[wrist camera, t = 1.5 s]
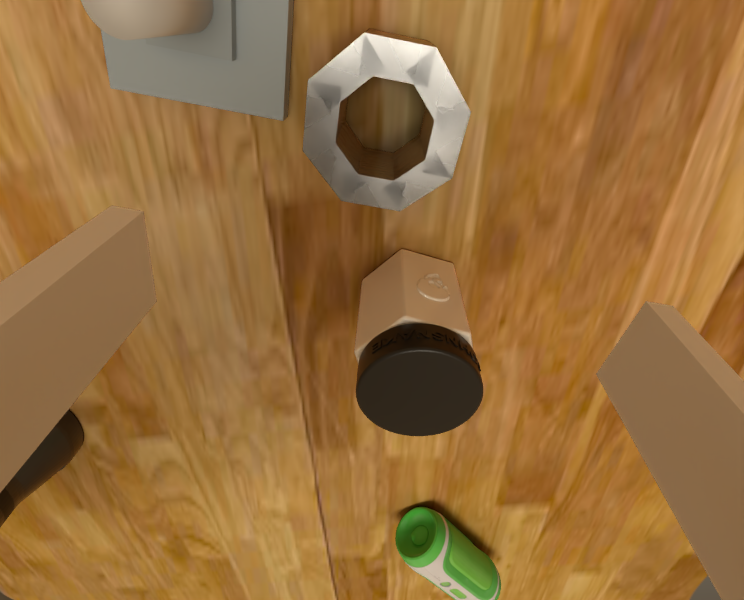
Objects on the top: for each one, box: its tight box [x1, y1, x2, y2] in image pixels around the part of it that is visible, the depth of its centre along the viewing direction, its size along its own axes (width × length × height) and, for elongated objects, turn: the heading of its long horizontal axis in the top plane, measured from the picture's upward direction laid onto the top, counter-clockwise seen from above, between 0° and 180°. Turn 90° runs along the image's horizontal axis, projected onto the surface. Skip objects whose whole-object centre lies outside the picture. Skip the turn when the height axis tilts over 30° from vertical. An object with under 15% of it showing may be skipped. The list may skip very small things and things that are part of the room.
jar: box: [354, 249, 483, 436], centre depth 31 cm, size 9×8×12 cm
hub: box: [303, 29, 471, 211], centre depth 26 cm, size 9×9×6 cm
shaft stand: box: [81, 0, 294, 121], centre depth 21 cm, size 11×11×10 cm
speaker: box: [395, 507, 501, 600], centre depth 56 cm, size 18×7×8 cm, turn 35°
